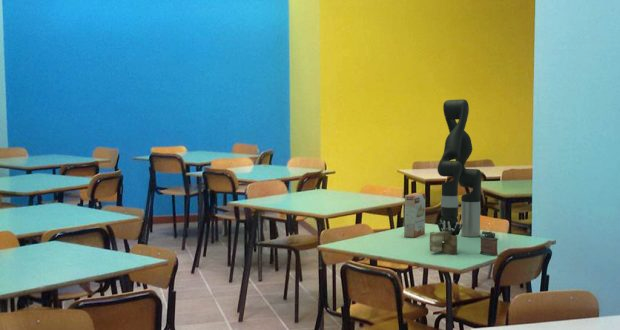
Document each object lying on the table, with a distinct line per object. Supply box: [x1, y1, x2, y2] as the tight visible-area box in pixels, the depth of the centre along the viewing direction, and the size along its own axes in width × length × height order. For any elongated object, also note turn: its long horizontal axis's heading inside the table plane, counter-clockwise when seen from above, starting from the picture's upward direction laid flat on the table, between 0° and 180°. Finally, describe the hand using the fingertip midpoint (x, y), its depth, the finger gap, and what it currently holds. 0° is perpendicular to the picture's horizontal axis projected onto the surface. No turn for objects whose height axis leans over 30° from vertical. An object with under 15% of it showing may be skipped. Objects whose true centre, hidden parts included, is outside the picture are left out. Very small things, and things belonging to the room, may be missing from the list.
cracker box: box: [403, 192, 426, 239], centre depth 377 cm, size 14×6×21 cm, turn 150°
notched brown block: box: [429, 231, 458, 256], centre depth 335 cm, size 14×2×8 cm, turn 38°
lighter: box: [479, 230, 499, 257], centre depth 329 cm, size 8×3×10 cm, turn 48°
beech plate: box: [429, 230, 453, 253], centre depth 335 cm, size 2×14×8 cm, turn 127°
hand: (449, 243), depth 338 cm, fingers closed on beech plate, 2 cm apart
